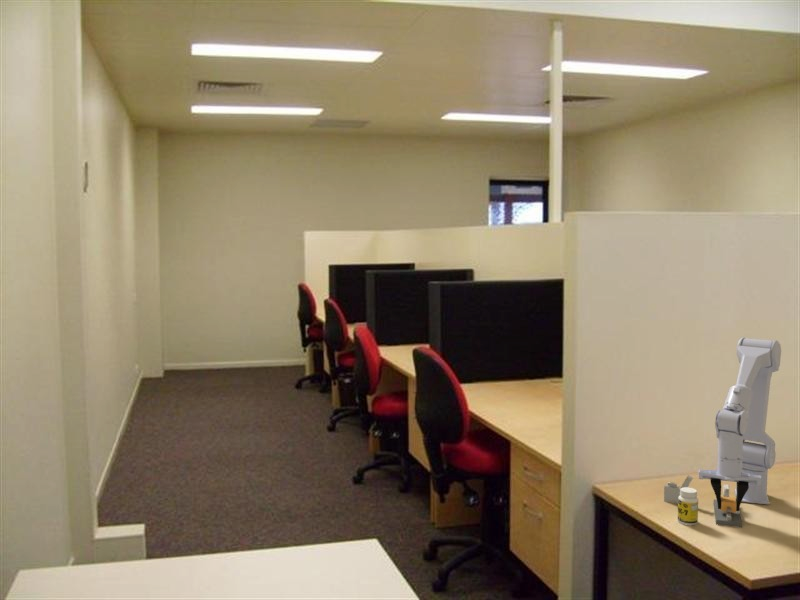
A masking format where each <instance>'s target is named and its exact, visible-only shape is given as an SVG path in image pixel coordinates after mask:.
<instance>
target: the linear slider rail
mask: <svg viewBox="0 0 800 600" xmlns="http://www.w3.org/2000/svg"><path fill="white" fill-rule="evenodd" d="M722 490H723V491H722V493H723V494H722V495H723V496H722V497H730V485H729V484H723V489H722ZM713 510H714V511H713V512H714V519H715V525H717V524H718V526H725V527H726V526H727V527H734V528H743V519H742V515H741V510H740V508H739V511H736V513H735V512H726V511H721V509H718V502H717V499H713Z"/></svg>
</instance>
